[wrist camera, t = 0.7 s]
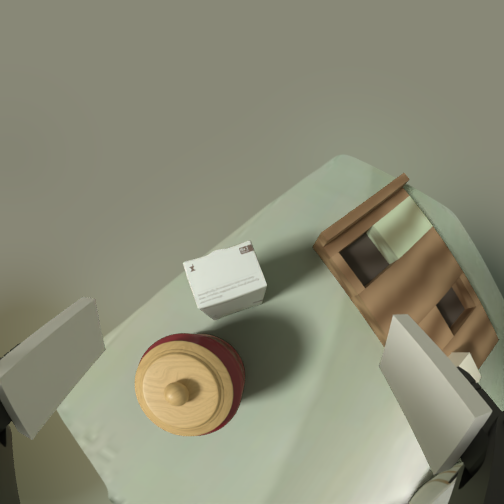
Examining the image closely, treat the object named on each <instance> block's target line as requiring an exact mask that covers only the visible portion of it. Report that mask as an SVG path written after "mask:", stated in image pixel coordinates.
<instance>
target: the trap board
mask: <svg viewBox="0 0 504 504" xmlns="http://www.w3.org/2000/svg"><path fill="white" fill-rule="evenodd" d="M408 180H409V178H408V177H407V176H406V175H405V173H403V174H402V175H400V176H399V177H398V178H396V179H395V180H393V181H392V182H391V183H389V184H388V185H387V186H385V187H384V188H383V189H381V190H380V191H378V192H377V193H376V194H374V195H373V196H372V197H370V198H369V199H368V200H366V201H365V202H363V203H362V204H361V205H359V206H358V207H356V208H355V209H354V210H352V211H351V212H349V213H348V214H347V215H345V216H344V217H343V218H341V219H340V220H338V221H337V222H336V223H334V224H333V225H331V226H330V227H328V228H327V229H326V230H324V231H323V232H321V234H320V236H319V237H318V239H317V240H316V242H315V244H314V245H313V249H314V250H315V251H316V253H317V254H318V255H319V257H320V258H321V259H322V261H323V262H324V263H325V264H326V266H327V267H328V269H329V270H330V271H331V273H332V274H333V275H334V277H335V278H336V279H337V281H338V282H339V283H340V285H341V286H342V288H343V289H344V290H345V292H346V293H347V294H348V296H349V297H350V299H351V300H352V301H353V303H354V304H355V306H356V307H357V308H358V310H359V311H360V313H361V314H362V315H363V317H364V318H365V320H366V321H367V323H368V324H369V326H370V327H371V328H372V330H373V331H374V333H375V334H376V336H377V337H378V339H379V340H380V342H381V343H382V345H383V346H384V347H385V344H386V341H387V337H388V333H389V329H390V325H391V321H392V317H393V315H398V314H408V315H409V316H410V317H411V318H412V319H413V320H414V321H415V322H416V323H417V325H418V326H419V327H420V328H421V329H422V330H423V331H424V332H425V333H426V334H427V335H428V336H429V337H430V338H431V339H432V341H433V342H434V343H435V344H436V345H437V346H438V347H439V348H440V349H441V350H442V352H443V353H444V354H445V355H446V356H447V357H448V356H449V355H450V354H451V353H452V352H470V354H471V356H472V358H473V360H474V362H475V364H476V367H477V369H479V368H480V367H481V365H482V364H483V362H484V361H485V360H486V358H487V357H488V355H489V354H490V352H491V351H492V349H493V348H494V346H495V345H496V343H497V342H498V340H499V339H498V337H497V335H496V332H495V330H494V328H493V326H492V324H491V322H490V320H489V318H488V316H487V314H486V312H485V310H484V308H483V306H482V304H481V302H480V300H479V299H478V297H477V295H476V293H475V291H474V290H473V288H472V286H471V284H470V283H469V281H468V279H467V277H466V276H465V274H464V272H463V271H462V269H461V268H460V266H459V264H458V263H457V261H456V260H455V258H454V256H453V255H452V253H451V252H450V250H449V249H448V247H447V246H446V244H445V243H444V241H443V240H442V239H441V237H440V236H439V234H438V233H437V231H436V230H435V229H434V227H433V226H432V224H431V223H430V222H429V220H428V219H427V218H426V216H425V215H424V214H423V212H422V211H421V210H420V208H419V207H418V206H417V205H416V203H415V202H414V201H413V199H412V198H411V197H410V196H409V194H408V193H407V192H406V191H405V190H404V188H403V186H404V185H405V184H406V183H407V182H408Z"/></svg>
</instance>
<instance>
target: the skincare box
mask: <svg viewBox="0 0 504 504" xmlns="http://www.w3.org/2000/svg"><path fill="white" fill-rule="evenodd" d="M183 265H184V268H185V272H186V275H187V278H188V281H189V284H190V287H191V290H192V293H193V296H194V299H195V301H196V304H197V307H198V309H200V310H201V311H203V312H204V313H205V314H206V315H208V316H209V317H210V318H212V319H213V320H217V319H219V318H221V317H224V316H227V315H229V314H232V313H235V312H238V311H241V310H244V309H247V308H250V307H254V306H258V305H261V304H262V301H263V298H264V294H265V291H266V288H267V283H266V281H265V278H264V275H263V272H262V270H261V267H260V264H259V262H258V259H257V256H256V254H255V251H254V248H253V245H252V243H251V241H250V240H249V241H246V242H243V243H240V244H238V245H235V246H232V247H229V248H226V249H219V250H215V251H213V252H211V253H210V254H208V255H206V256H203V257H200V258H197V259H193V260H189V261H185V262H184V263H183Z"/></svg>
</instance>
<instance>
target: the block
mask: <svg viewBox="0 0 504 504" xmlns="http://www.w3.org/2000/svg"><path fill="white" fill-rule="evenodd" d="M448 358H449V359H450V360H451V362H452V363H453V364H454V365H455V366H456V367H458V366H459V367H461V368H462V369H464V370H465V371H467V372H468V373H469V374H470V375H471V376H472V377H473V378H474V379H475V380H476V383H478V382H479V380H480V379H481V378H482V377H481V375H480V373H479V371H478V369H477V367H476V364H475V362H474V360H473V358H472V356H471V354H470V352H452V353H451V354H450V355H449V356H448Z"/></svg>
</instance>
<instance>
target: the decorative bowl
mask: <svg viewBox="0 0 504 504" xmlns="http://www.w3.org/2000/svg"><path fill="white" fill-rule="evenodd" d="M462 465H463V462H462V463H459V464H457V465H454V466H453V467H452V469H449V470H447V471H444V472H441V473H440V474H438V475H437V476H436V477H434V478H432V479H430V480H429V481H428V482H426V483H425V484H424V485H423V486H422V487H421V488H420V489H419V490H418V491H417V492H416V493H415V494H414V496H413V497H412V499H411V501H410V502H409V504H448V501H449V499H450V496H451V493H452V490H453V487H454V484H455V481H456V478H457V477H456V478H455V479H454V480H453V481H452V482H451V484H450V483H448V482H449V480H450V479H451V477H452V476H453V475H454V474H455V473H456V472H457V471H458V470H459V468H460V467H461V466H462Z"/></svg>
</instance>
